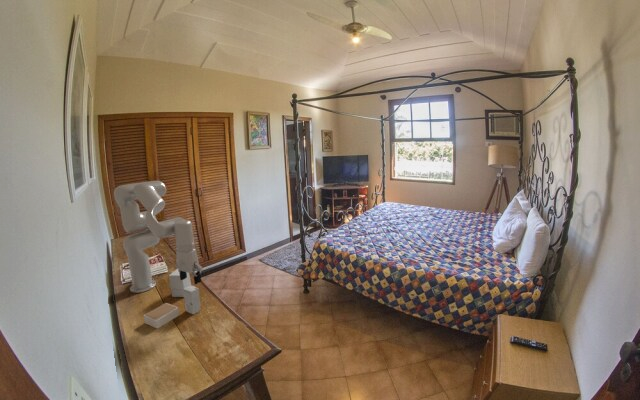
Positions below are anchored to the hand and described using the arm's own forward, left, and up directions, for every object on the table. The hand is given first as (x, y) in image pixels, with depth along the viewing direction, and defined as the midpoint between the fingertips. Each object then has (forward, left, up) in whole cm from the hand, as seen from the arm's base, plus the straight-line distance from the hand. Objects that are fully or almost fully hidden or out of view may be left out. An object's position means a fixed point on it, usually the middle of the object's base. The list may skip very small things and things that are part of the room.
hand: (190, 280), depth 135 cm
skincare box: (-1, 0, -16) cm, 16 cm away
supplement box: (-19, +8, -16) cm, 27 cm away
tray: (-8, -11, -16) cm, 21 cm away
